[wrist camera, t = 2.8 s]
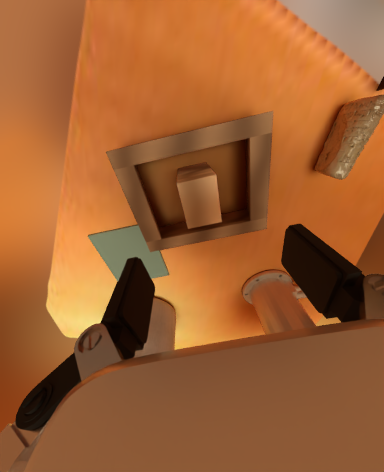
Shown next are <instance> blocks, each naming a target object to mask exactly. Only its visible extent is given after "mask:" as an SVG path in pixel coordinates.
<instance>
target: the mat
mask: <svg viewBox="0 0 384 472" xmlns="http://www.w3.org/2000/svg"><path fill="white" fill-rule="evenodd" d="M88 237H89V239H90V240H91V242H92V243H93V245H94V246H95V248H96V249H97V251H98V252H99V254H100V255H101V257H102V258H103V260H104V261H105V263H106V264H107V266H108V267H109V269H110V270H111V272H112V273H113V275H114V276H115V278H116V279H117V281H119V278H120V276H121V273H122V271H123V268H124V266H125V263H126V261H127V259H128V258H133V257H138V258H140V259H141V260H142V262H143V264H144V266H145V268H146V269H147V271H148V273H149V275H150V277H151V279H152V278H157V277H162V276H167V275H169V272H168V270H167V267H166V265H165V262H164V260H163V257H162V255H161V252H160V250H159V251H154V252H150V250H149V248H148V246H147V244H146V241H145V239H144V237H143V235H142V232H141V230H140V228H139V226H138V225H133V226H129V227H124V228H119V229H115V230H110V231H105V232H100V233H96V234H91V235H88Z"/></svg>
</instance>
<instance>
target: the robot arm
mask: <svg viewBox="0 0 384 472" xmlns="http://www.w3.org/2000/svg"><path fill="white" fill-rule="evenodd" d="M281 262H282V265H283V266H284V268H285V269H286V270H287V272H288V273H289V274H290V276H291V277H292V278H293V280H294V281H295V282H296V284H297V285H298V286H294V285H293V282H292V279H291V278H290V276H289V275H288V274H287V273H285V272H282V271H278V270H269V271H264V272H261V273H259V274H256V275H254V276H253V277H251V278H250V279H249V280H248V281H247V282H246V283H245V284H244V286H243V289H242V294H243V297H244V299H245V300H246V301H247V302H248V303H250V304H253V306H254V308H255V310H256V313H257V315H258V317H259V320H260V322H261V325H262V327H263V329H264V332H265V334H266V335H260V336H254V337H248V338H242V339H236V340H230V341H224V342H218V343H212V344H207V345H201V346H195V347H189V348H183V349H177V350H172V351H166V352H161V353H155V354H150V355H145V356H140V357H135V358H134V356H135V352H136V351H139V350H143V348H144V343H146V342H147V338H148V332H149V325H150V319H151V312H152V306H153V299H154V293H155V286H154V283H153V281H152V279H151V277H150V275H149V273H148V271H147V269H146V268H145V266H144V264H143V262H142V260H141V259H140V258H138V257H133V258H128V259H127V261H126V263H125V266H124V268H123V271H122V273H121V276H120V278H119V281H118V282H117V284H116V286H115V289H114V291H113V294H112V296H111V299H110V301H109V304H108V306H107V308H106V311H105V313H104V316H103V318H102V321H101V323H99V324H94V325H92V326H90V327H89V328H87V329H86V330H85V331H84V332H83V333H82V334H81V335H80V336H79V338H78V340H77V341H76V343H75V347H74V353H73V354H72V355H71V356H70V357H68V358H67V359H66V360H65V361H64V362H63V363H62V364H60V365H59V366H58V367H57V368H56V369H55V370H54V371H53V372H51V373H50V374H49V375H48V376H47V377H46V378H45V379H44V380H42V381H41V382H40V383H39V384H38V385H37V386H36V387H35V388H34V389H33V390H32V391H31V392H30V393H29V394H28V395H27V396H26V398H25V399H24V400H23V402H22V404H21V406H20V407H19V410H18V412H17V415H16V421H15V422H14V423H13V424H8V425H7V426H6V427H5V429H4V430H3V431H2V432H1V433H0V472H384V275H382V274H369V275H367V276H364V275H363V274H362V271H360V270H359V269H358V268H357V267H356V266H354V265H353V264H352V263H350V262H349V261H348V260H347V259H345V258H344V257H343V256H341V255H340V254H339V253H338V252H336V251H335V250H334V249H332V248H331V247H330V246H329V245H327V244H326V243H325V242H323V241H322V240H321V239H320V238H318V237H317V236H316V235H314V234H313V233H312V232H311V231H309V230H308V229H307V228H305V227H304V226H303V225H301V224H295V225H290V226H289V227H288V228H287V229H286V231H285V238H284V245H283V252H282V259H281ZM299 298H308V299H309V301H310V302H311V303H312V305H313V306H314V307H315V308H316V310H317V311H318V312H319V313H322V314H323V315H324V316H325V317H326V319H328V318H334V317H338V319H339V320H340V321H341V323H336V324H329V325H322V326H316V325H315V324H314V322H313V321H312V319H311V318H310V317H309V315H308V314H307V312H306V311H305V309H304V308H303V307H302V305H301V304H300V302H299V301H298V299H299Z"/></svg>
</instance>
